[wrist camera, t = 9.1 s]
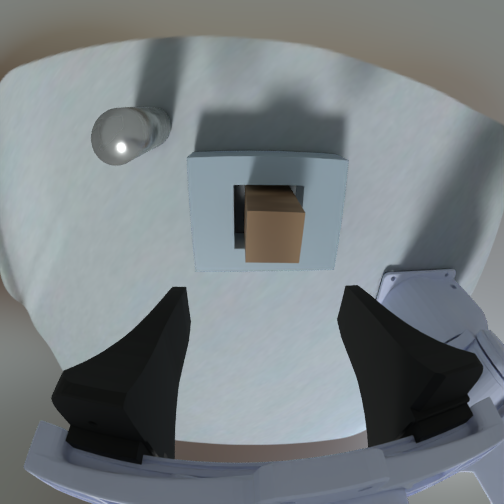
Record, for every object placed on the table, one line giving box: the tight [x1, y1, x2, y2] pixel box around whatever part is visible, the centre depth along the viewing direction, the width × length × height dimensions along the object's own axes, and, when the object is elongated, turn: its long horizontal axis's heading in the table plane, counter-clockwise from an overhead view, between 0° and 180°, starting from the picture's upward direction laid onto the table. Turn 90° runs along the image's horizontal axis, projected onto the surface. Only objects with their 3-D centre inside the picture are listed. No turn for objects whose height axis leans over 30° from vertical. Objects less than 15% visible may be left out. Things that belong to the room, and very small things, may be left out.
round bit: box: [91, 107, 171, 165], centre depth 15 cm, size 3×3×6 cm
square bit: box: [244, 185, 305, 263], centre depth 18 cm, size 3×3×6 cm
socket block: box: [187, 151, 349, 272], centre depth 19 cm, size 10×8×2 cm
